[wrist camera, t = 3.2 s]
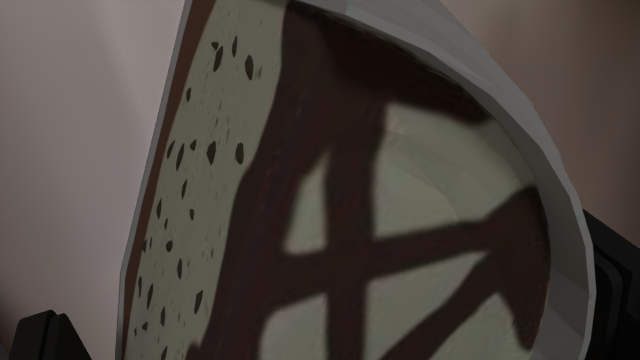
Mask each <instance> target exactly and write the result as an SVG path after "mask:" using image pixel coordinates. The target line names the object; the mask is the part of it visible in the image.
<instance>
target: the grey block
mask: <svg viewBox="0 0 640 360" xmlns="http://www.w3.org/2000/svg"><path fill="white" fill-rule="evenodd" d="M8 359H9V354H8V353H7V351H6V349H5V348H4V346H3V345H2V343H1V341H0V360H8Z"/></svg>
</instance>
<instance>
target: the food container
mask: <svg viewBox="0 0 640 360" xmlns="http://www.w3.org/2000/svg"><path fill="white" fill-rule="evenodd" d="M595 300H596V282H595V269H594V255H593V244H592V240H591V237H590V234H589V230H588V227H587V224H586V220H585V217H584V214H583V210H582V207H581V204H580V200H579V197H578V194H577V192H576V190H575V188H574V187H573V185H572V183H571V181H570V180H569V178H568V176H567V174H566V172H565V169H564V165H563V162H562V159H561V156H560V153H559V151H558V149H557V148H556V146H555V144H554V142H553V140H552V139H551V137H550V135H549V133H548V131H547V130H546V128H545V126H544V124H543V123H542V121H541V119H540V117H539V115H538V114H537V112H536V110H535V108H534V107H533V105H532V103H531V101H530V100H529V99H528V98H527V96H526V95H525V94H524V93H523V92H522V91H521V90H520V89H519V87H518V86H517V85H516V84H515V83H514V82H513V81H512V80H511V78H510V77H509V76H508V75H507V74H506V73H505V72H504V71H503V69H502V68H501V67H500V66H499V65H498V64H497V63H496V61H495V60H494V59H493V58H492V57H491V56H490V55H489V54H488V52H487V51H486V50H485V49H484V48H483V47H482V46H481V45H480V44H479V43H478V42H477V40H476V39H475V38H474V37H473V36H472V35H471V34H470V33H469V32H468V31H467V30H466V29H465V28H464V27H463V25H462V24H461V23H460V22H459V21H458V20H457V19H456V18H455V17H454V16H453V15H452V14H451V13H450V12H449V11H448V9H447V8H446V7H445V6H444V5H443V4H442V3H441V2H440V1H439V0H185V4H184V8H183V12H182V16H181V20H180V24H179V29H178V33H177V37H176V41H175V45H174V49H173V54H172V58H171V62H170V66H169V70H168V75H167V79H166V83H165V87H164V91H163V95H162V100H161V104H160V108H159V112H158V116H157V120H156V125H155V129H154V133H153V137H152V141H151V146H150V150H149V154H148V158H147V162H146V166H145V171H144V175H143V179H142V183H141V187H140V191H139V196H138V200H137V204H136V208H135V212H134V217H133V221H132V225H131V229H130V233H129V237H128V242H127V246H126V250H125V254H124V258H123V262H122V267H121V271H120V284H119V300H118V316H117V333H116V349H115V360H584V359H585V356H586V353H587V350H588V346H589V343H590V340H591V332H592V324H593V316H594V308H595Z"/></svg>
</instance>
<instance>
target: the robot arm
mask: <svg viewBox="0 0 640 360" xmlns="http://www.w3.org/2000/svg"><path fill="white" fill-rule="evenodd" d="M582 210H583V214H584V217H585V220H586V224H587V227H588V230H589V234H590V237H591V240H592V244H593V255H594V269H595V282H596V300H595V308H594V316H593V324H592V332H591V340H590V343H589V346H588V350H587V353H586V356H585V359H584V360H640V249H639V248H637V247H636V246H635V245H633V244H632V243H630V242H629V241H628V240H626V239H625V238H623V237H622V236H620V235H619V234H618V233H616V232H615V231H613V230H612V229H611V228H609V227H608V226H606V225H605V224H604V223H602V222H601V221H599V220H598V219H596V218H595V217H594V216H592V215H591V214H589V213H588V212H587V211H585V210H584V209H582ZM8 360H92V359H91V357H90V355H89V354H88V352H87V350H86V348H85V347H84V345H83V343H82V341H81V339H80V338H79V336H78V334H77V332H76V330H75V329H74V327H73V325H72V323H71V321H70V320H69V318H68V317H67V315H66V314H64V313H62V314H59V315H57V314H56V313H55V312H54V311H53V310H48V311H45V312H42V313H38V314H35V315H32V316H29V317H26V318H23V319H21V320H20V321H19V323H18V326H17V329H16V333H15V337H14V341H13V344H12V348H11V352H10V356H9V359H8Z"/></svg>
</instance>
